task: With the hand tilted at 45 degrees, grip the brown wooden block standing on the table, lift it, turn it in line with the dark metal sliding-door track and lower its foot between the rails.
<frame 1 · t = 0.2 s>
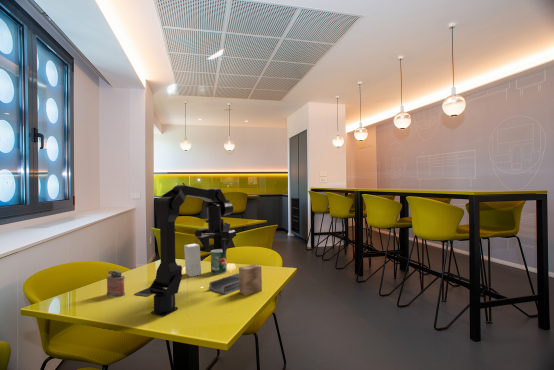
hand: (216, 252, 124), 14 cm above the table, tool pointing down, fingers open, 9 cm apart
brown wooden block: (250, 291, 116), on the table
door track: (231, 286, 123), on the table
skincare box: (192, 274, 143), on the table
cell phone: (153, 291, 121), on the table
lighter: (115, 295, 117), on the table
canned tomato: (218, 272, 146), on the table
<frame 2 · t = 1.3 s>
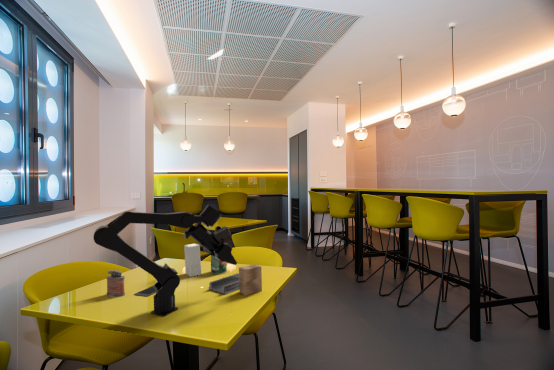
hand: (231, 261, 113), 13 cm above the table, tool tilted 45°, fingers open, 9 cm apart
nothing on the table moved.
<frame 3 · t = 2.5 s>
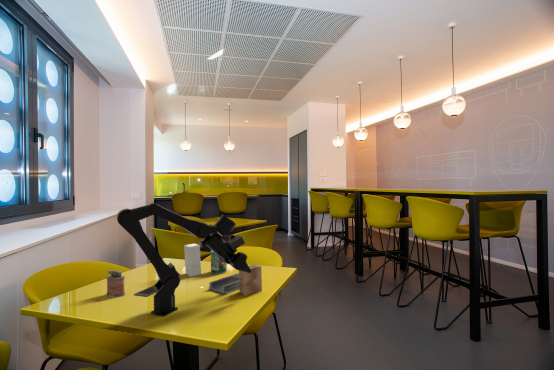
hand: (245, 269, 116), 9 cm above the table, tool tilted 45°, fingers open, 9 cm apart
nothing on the table moved.
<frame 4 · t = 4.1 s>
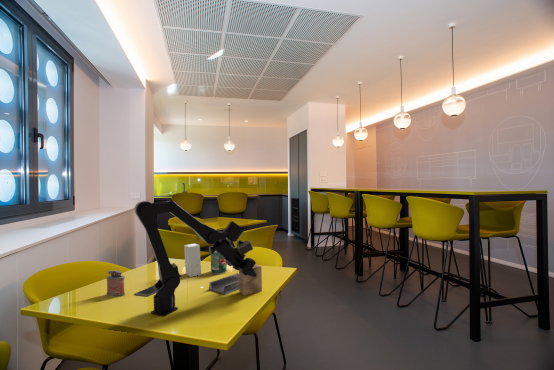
hand: (253, 274, 117), 7 cm above the table, tool tilted 45°, fingers closed on brown wooden block, 4 cm apart
brown wooden block: (250, 291, 116), on the table, touching gripper
everything else where it was.
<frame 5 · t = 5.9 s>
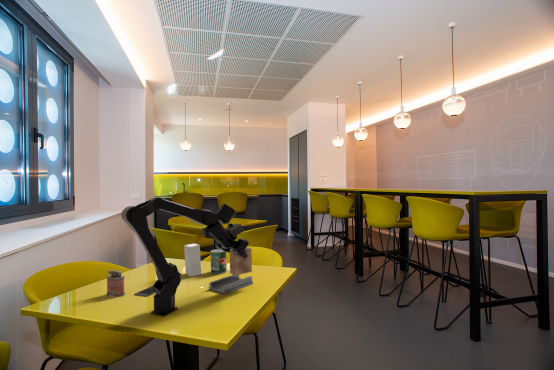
hand: (243, 256, 121), 13 cm above the table, tool tilted 45°, fingers closed on brown wooden block, 4 cm apart
brown wooden block: (241, 272, 120), point 7 cm above the table, touching gripper
everything else where it was.
when the fingers open (9 cm above the table, at t = 7.8 s): brown wooden block drops 1 cm, resting on door track.
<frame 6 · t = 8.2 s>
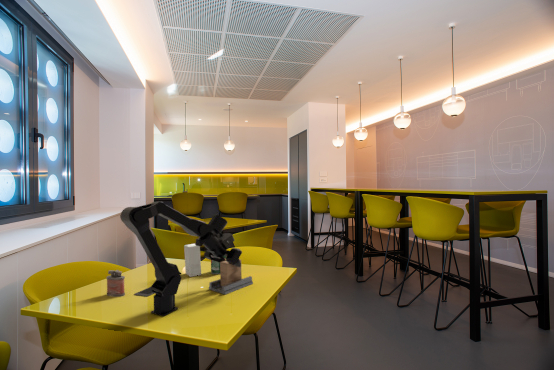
hand: (233, 264, 124), 9 cm above the table, tool tilted 45°, fingers open, 9 cm apart
brown wooden block: (231, 284, 123), point 1 cm above the table, touching door track
everything else where it was.
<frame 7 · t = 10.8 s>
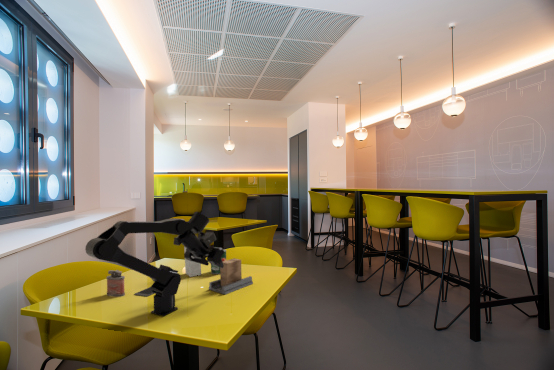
hand: (215, 265, 117), 11 cm above the table, tool tilted 45°, fingers open, 9 cm apart
nothing on the table moved.
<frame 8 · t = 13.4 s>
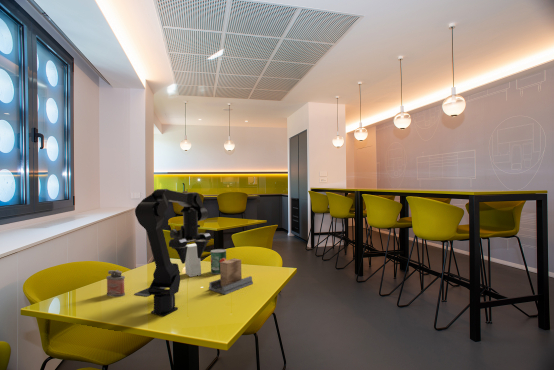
hand: (191, 260, 117), 13 cm above the table, tool pointing down, fingers open, 9 cm apart
nothing on the table moved.
at the end: brown wooden block 0.0 cm off-centre on the door track, point 1.0 cm above the door track's base; brown wooden block tilted 0°; the gripper is holding nothing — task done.
